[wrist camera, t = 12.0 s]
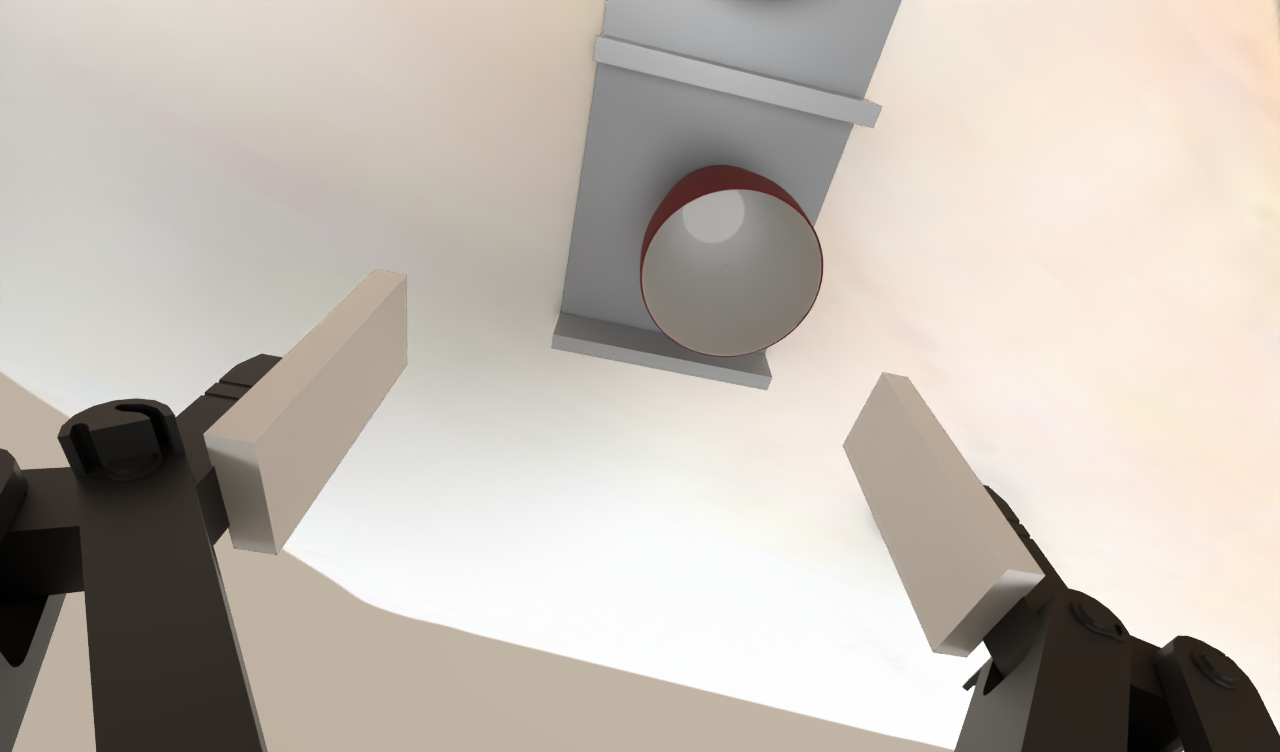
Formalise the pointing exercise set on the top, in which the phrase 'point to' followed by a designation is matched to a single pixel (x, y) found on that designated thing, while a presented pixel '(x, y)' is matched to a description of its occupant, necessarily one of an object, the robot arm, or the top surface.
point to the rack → (705, 142)
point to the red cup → (729, 263)
